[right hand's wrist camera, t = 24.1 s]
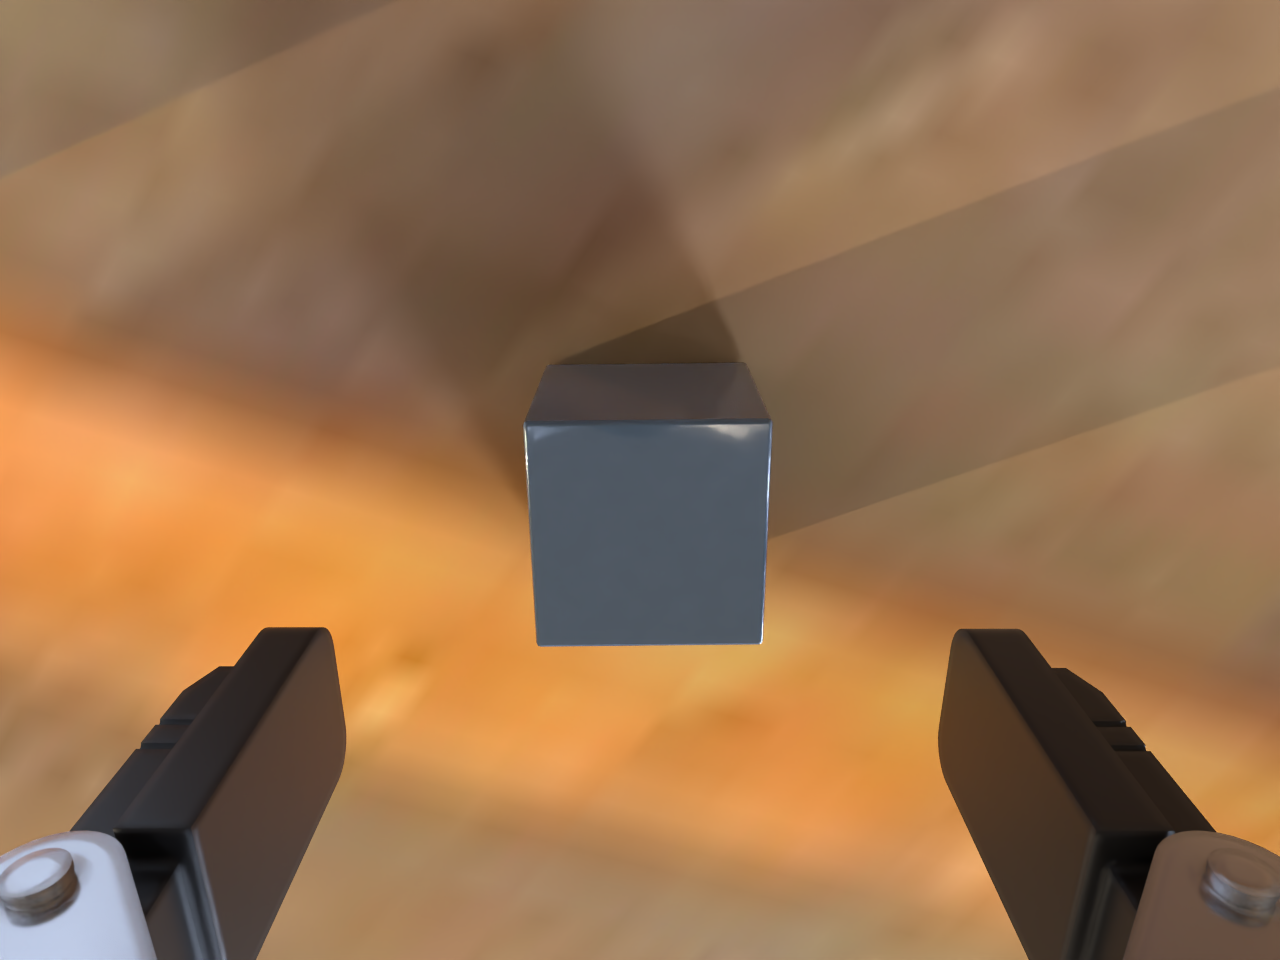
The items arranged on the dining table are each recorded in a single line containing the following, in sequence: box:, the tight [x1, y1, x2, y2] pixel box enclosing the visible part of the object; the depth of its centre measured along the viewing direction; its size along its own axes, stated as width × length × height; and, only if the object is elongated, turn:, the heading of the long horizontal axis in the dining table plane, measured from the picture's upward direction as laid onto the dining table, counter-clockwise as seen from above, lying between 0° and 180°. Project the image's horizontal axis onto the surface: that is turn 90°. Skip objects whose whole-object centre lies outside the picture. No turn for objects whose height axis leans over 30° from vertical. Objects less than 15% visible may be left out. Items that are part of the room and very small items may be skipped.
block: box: [523, 363, 773, 647], centre depth 18 cm, size 4×4×4 cm
